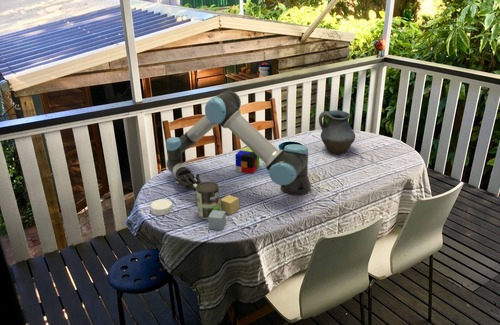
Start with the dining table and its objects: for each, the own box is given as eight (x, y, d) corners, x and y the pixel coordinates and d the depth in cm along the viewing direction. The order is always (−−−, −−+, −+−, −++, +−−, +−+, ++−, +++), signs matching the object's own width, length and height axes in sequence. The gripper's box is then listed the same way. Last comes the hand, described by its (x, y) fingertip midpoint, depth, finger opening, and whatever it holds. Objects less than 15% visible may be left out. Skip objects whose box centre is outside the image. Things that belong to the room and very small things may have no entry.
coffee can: (224, 211, 209) (223, 184, 203) (211, 221, 201) (209, 194, 195) (207, 206, 214) (205, 179, 208) (193, 215, 206) (191, 188, 200)
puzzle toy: (236, 171, 248) (235, 154, 244) (243, 164, 256) (242, 148, 252) (252, 174, 245) (252, 157, 240) (259, 166, 253) (259, 150, 249)
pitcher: (357, 158, 260) (360, 117, 250) (319, 158, 260) (321, 117, 250) (350, 144, 279) (353, 105, 268) (315, 145, 279) (316, 106, 269)
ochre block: (239, 209, 211) (238, 198, 208) (230, 214, 206) (230, 203, 204) (229, 205, 214) (228, 194, 212) (220, 210, 210) (220, 199, 207)
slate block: (226, 222, 200) (225, 211, 198) (222, 230, 195) (221, 218, 192) (213, 221, 201) (212, 210, 199) (209, 228, 196) (208, 217, 194)
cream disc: (176, 211, 210) (175, 205, 209) (156, 218, 206) (155, 211, 204) (167, 203, 218) (166, 196, 217) (148, 209, 213) (147, 202, 212)
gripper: (194, 176, 236) (213, 195, 217) (170, 182, 230) (187, 202, 211) (193, 163, 233) (212, 181, 214) (169, 169, 227) (186, 188, 208)
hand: (199, 191), depth 213 cm, fingers closed
